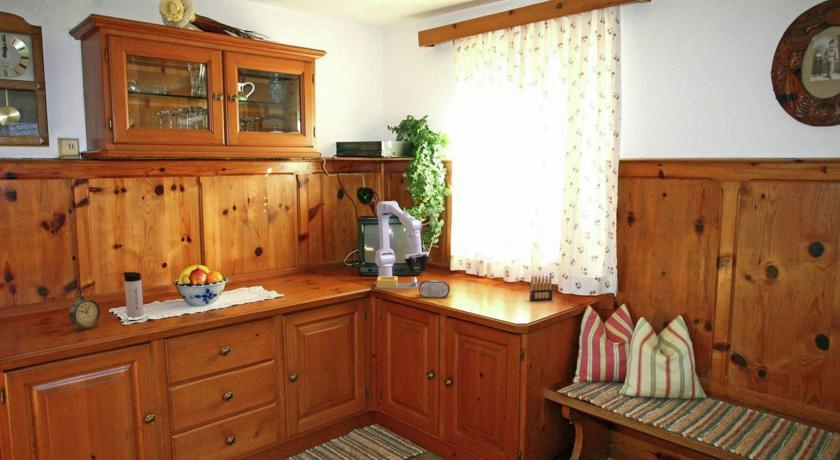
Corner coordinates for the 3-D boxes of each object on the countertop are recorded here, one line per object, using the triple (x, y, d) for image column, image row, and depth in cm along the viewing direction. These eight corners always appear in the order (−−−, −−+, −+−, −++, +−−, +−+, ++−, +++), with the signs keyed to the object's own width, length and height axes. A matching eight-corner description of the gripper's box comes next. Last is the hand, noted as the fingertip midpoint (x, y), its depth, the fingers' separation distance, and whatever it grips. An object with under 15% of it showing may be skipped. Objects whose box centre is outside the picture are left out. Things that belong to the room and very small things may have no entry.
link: (378, 283, 308) (378, 276, 308) (397, 283, 308) (397, 276, 307) (376, 288, 298) (376, 280, 298) (396, 288, 298) (396, 280, 297)
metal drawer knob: (410, 285, 305) (410, 276, 304) (418, 285, 305) (418, 276, 304) (410, 286, 301) (410, 278, 300) (418, 286, 301) (418, 278, 300)
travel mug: (130, 317, 250) (126, 271, 247) (146, 316, 250) (143, 270, 248) (123, 321, 243) (120, 274, 241) (140, 320, 244) (137, 273, 241)
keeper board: (376, 285, 310) (376, 283, 310) (426, 285, 309) (426, 283, 309) (374, 290, 297) (374, 288, 297) (426, 290, 296) (426, 288, 296)
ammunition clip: (550, 299, 278) (551, 274, 276) (552, 300, 276) (553, 275, 274) (529, 300, 276) (529, 275, 274) (530, 301, 274) (531, 276, 272)
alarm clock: (76, 333, 227) (73, 292, 225) (67, 331, 229) (64, 291, 227) (102, 326, 237) (99, 286, 235) (93, 324, 239) (90, 285, 237)
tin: (450, 296, 283) (450, 279, 282) (449, 298, 280) (449, 281, 279) (419, 296, 285) (418, 279, 284) (418, 297, 282) (418, 280, 281)
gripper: (410, 245, 283) (413, 273, 283) (431, 242, 293) (433, 269, 293) (400, 245, 288) (403, 273, 288) (421, 243, 298) (423, 270, 298)
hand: (417, 271), depth 291 cm, fingers open, 7 cm apart
